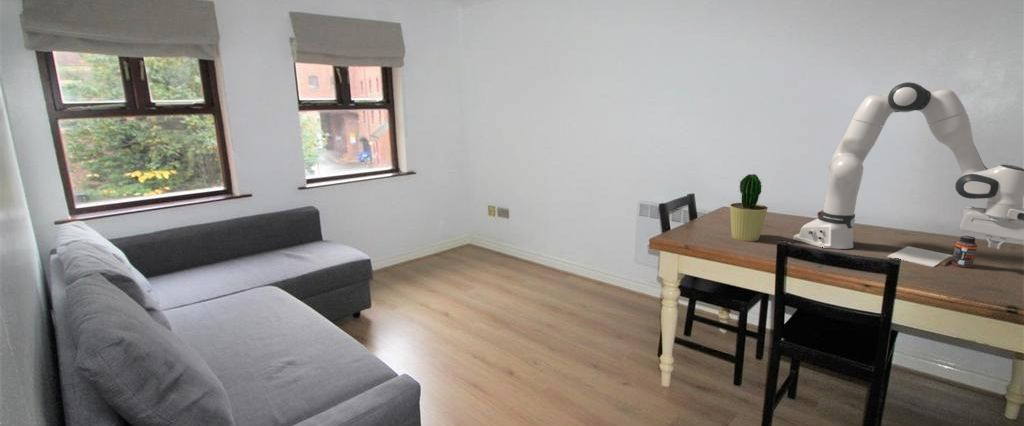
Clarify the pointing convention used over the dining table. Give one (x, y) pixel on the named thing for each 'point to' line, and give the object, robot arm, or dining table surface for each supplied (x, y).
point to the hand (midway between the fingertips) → (993, 248)
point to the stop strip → (946, 261)
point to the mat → (920, 256)
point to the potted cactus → (748, 211)
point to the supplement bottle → (964, 252)
